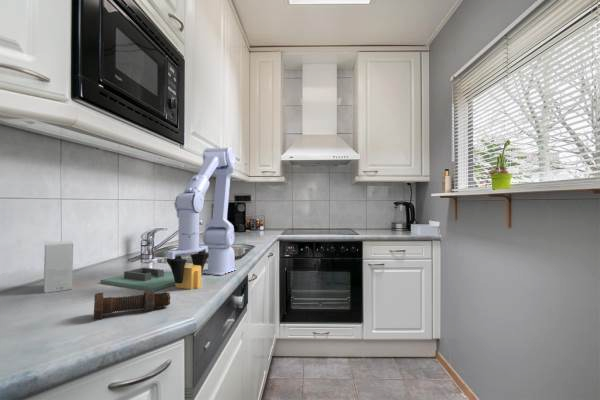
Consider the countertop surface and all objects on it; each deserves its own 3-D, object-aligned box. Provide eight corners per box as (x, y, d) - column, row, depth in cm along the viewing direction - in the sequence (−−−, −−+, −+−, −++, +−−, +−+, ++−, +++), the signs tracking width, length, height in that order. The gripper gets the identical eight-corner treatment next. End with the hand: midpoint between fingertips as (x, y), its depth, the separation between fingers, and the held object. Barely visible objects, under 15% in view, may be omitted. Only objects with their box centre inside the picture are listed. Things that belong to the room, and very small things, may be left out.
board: (145, 272, 111) (145, 264, 111) (194, 278, 103) (194, 269, 103) (100, 283, 97) (100, 273, 97) (153, 291, 88) (153, 280, 88)
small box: (72, 289, 89) (73, 243, 90) (43, 293, 85) (44, 244, 86) (70, 283, 96) (71, 240, 96) (43, 287, 92) (44, 242, 92)
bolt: (169, 315, 75) (93, 326, 67) (166, 300, 78) (94, 308, 70) (172, 297, 72) (93, 305, 64) (169, 282, 76) (95, 288, 68)
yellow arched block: (185, 283, 96) (185, 264, 96) (203, 286, 93) (204, 266, 94) (175, 287, 93) (175, 266, 93) (194, 289, 90) (194, 268, 90)
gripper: (195, 231, 102) (195, 273, 102) (158, 235, 88) (158, 284, 88) (213, 232, 99) (212, 275, 99) (178, 236, 86) (177, 287, 85)
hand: (188, 280), depth 93 cm, fingers open, 7 cm apart
